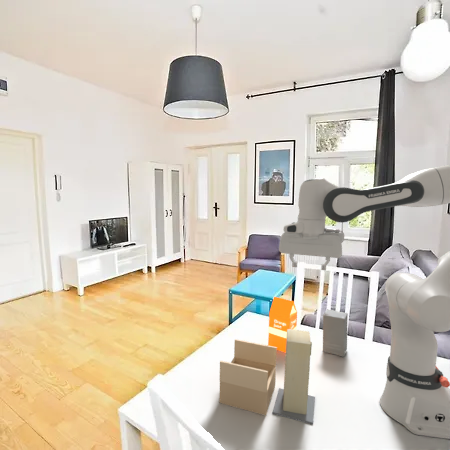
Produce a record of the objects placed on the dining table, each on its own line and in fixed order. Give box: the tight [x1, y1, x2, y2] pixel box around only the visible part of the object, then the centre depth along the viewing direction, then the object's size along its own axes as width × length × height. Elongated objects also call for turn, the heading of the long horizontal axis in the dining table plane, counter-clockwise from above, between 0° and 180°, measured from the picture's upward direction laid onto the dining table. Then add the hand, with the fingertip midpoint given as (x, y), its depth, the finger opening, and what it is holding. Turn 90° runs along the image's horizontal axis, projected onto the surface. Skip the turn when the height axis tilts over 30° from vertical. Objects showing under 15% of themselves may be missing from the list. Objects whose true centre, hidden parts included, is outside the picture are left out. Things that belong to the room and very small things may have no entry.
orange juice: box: [267, 296, 298, 354], centre depth 120 cm, size 8×9×20 cm
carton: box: [219, 338, 278, 416], centre depth 91 cm, size 14×14×13 cm
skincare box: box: [322, 309, 349, 357], centre depth 117 cm, size 8×7×16 cm
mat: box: [272, 387, 316, 425], centre depth 87 cm, size 11×11×1 cm
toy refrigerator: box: [283, 329, 313, 415], centre depth 86 cm, size 8×7×21 cm
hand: (308, 268), depth 100 cm, fingers open, 8 cm apart
